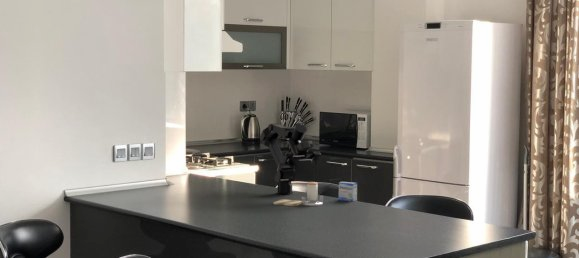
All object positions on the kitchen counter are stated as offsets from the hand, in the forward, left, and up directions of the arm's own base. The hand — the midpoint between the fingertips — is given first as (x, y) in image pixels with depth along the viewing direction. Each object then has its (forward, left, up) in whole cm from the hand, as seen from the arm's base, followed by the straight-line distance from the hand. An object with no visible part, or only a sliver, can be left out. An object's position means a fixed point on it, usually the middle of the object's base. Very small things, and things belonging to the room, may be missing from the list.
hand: (308, 171), depth 381 cm
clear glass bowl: (+5, -6, -14) cm, 17 cm away
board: (-5, -10, -14) cm, 19 cm away
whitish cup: (+5, -6, -12) cm, 15 cm away
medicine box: (+16, +11, -15) cm, 24 cm away
